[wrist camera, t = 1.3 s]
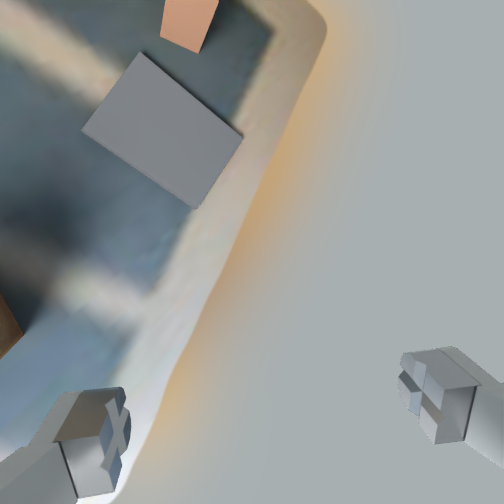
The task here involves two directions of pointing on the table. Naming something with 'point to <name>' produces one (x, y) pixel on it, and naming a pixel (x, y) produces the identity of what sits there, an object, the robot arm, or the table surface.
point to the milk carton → (7, 329)
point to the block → (187, 22)
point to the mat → (163, 132)
